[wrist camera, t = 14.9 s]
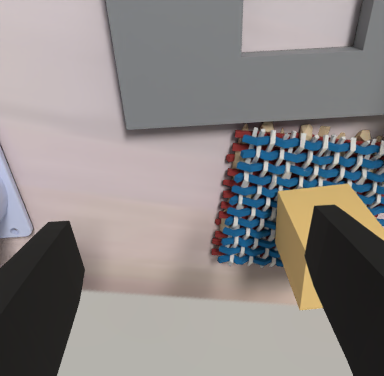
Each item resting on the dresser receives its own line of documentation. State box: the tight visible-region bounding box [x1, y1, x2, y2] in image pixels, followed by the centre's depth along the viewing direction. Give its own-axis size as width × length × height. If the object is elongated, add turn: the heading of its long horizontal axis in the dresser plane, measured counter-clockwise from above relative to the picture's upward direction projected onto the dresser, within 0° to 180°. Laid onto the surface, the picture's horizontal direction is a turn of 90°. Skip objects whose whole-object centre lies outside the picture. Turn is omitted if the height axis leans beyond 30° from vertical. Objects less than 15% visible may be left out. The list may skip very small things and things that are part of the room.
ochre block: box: [275, 184, 384, 310], centre depth 18 cm, size 4×4×5 cm
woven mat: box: [211, 121, 384, 268], centre depth 21 cm, size 10×11×2 cm
